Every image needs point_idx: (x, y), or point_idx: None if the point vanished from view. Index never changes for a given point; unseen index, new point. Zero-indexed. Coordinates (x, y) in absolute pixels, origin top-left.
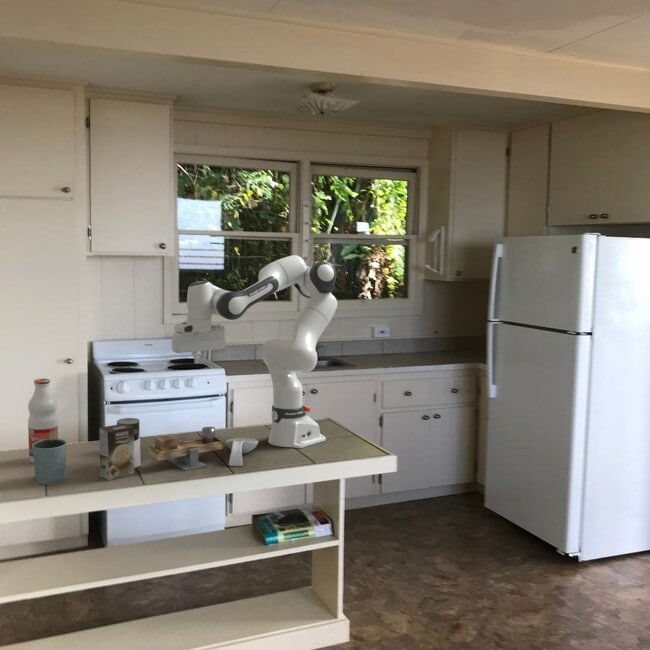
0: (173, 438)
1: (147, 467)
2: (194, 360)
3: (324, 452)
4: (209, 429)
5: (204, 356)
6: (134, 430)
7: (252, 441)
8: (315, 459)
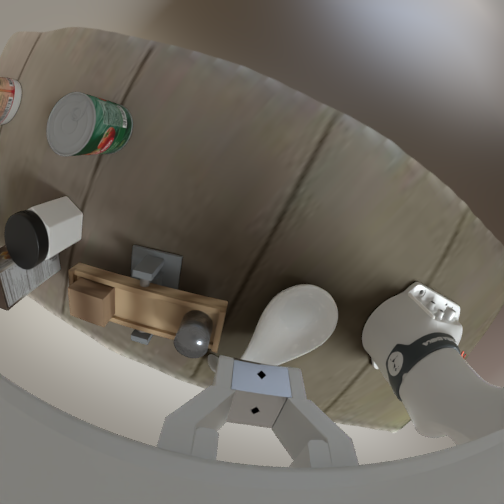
0: (96, 321)
1: (88, 255)
2: (218, 367)
3: (374, 394)
4: (186, 351)
5: (296, 446)
6: (32, 249)
7: (329, 320)
8: (335, 407)
